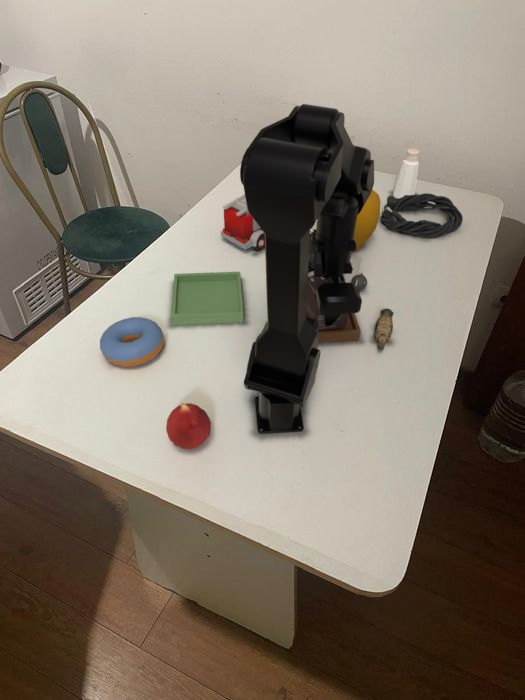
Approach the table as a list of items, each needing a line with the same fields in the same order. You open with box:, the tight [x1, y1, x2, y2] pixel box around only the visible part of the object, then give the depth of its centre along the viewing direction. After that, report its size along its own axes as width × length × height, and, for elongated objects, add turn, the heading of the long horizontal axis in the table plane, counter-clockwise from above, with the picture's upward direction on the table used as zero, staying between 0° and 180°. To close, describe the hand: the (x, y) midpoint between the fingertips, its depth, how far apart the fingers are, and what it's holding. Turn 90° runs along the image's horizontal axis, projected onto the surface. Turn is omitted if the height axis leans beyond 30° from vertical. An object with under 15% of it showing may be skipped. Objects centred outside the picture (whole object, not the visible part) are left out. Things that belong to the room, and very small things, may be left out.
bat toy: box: [350, 253, 368, 292], centre depth 95 cm, size 3×15×5 cm, turn 164°
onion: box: [165, 402, 212, 450], centre depth 68 cm, size 6×6×8 cm
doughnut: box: [99, 316, 165, 368], centre depth 82 cm, size 10×10×5 cm
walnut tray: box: [318, 313, 361, 344], centre depth 88 cm, size 10×10×2 cm
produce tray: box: [170, 271, 245, 326], centre depth 92 cm, size 12×12×2 cm
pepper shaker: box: [392, 147, 420, 198], centre depth 120 cm, size 5×5×11 cm
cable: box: [379, 192, 464, 238], centre depth 113 cm, size 17×14×4 cm
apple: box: [351, 189, 382, 253], centre depth 103 cm, size 11×11×13 cm
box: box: [306, 275, 348, 331], centre depth 86 cm, size 6×6×7 cm
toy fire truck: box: [220, 194, 265, 252], centre depth 107 cm, size 9×19×10 cm, turn 136°
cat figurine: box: [374, 307, 395, 351], centre depth 85 cm, size 3×8×4 cm, turn 165°
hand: (324, 312), depth 87 cm, fingers closed on box, 6 cm apart
